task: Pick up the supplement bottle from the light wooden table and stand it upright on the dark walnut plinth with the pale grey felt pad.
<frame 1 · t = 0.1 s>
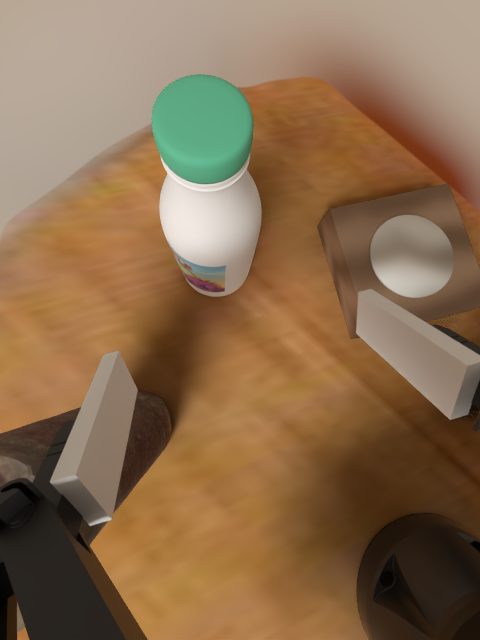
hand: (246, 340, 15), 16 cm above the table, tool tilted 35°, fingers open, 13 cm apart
walnut plinth: (388, 268, 33), on the table
brown cylinder: (139, 422, 29), on the table, touching gripper
milk bottle: (216, 266, 32), on the table
supplement bottle: (469, 389, 32), on the table
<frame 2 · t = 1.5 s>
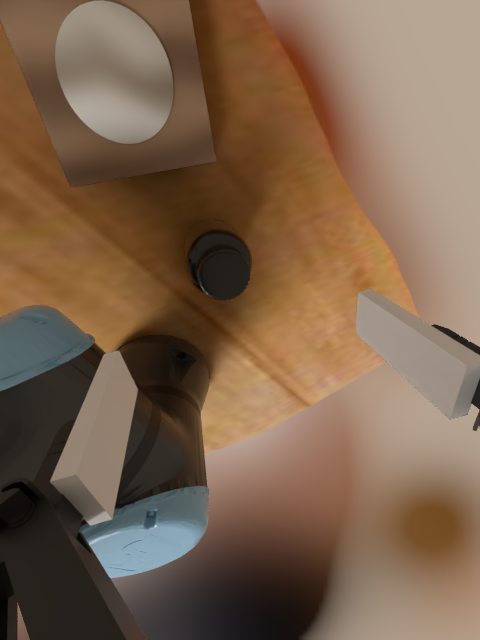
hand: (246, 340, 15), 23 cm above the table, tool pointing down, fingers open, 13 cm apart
walnut plinth: (126, 92, 26), on the table
supplement bottle: (211, 245, 35), on the table
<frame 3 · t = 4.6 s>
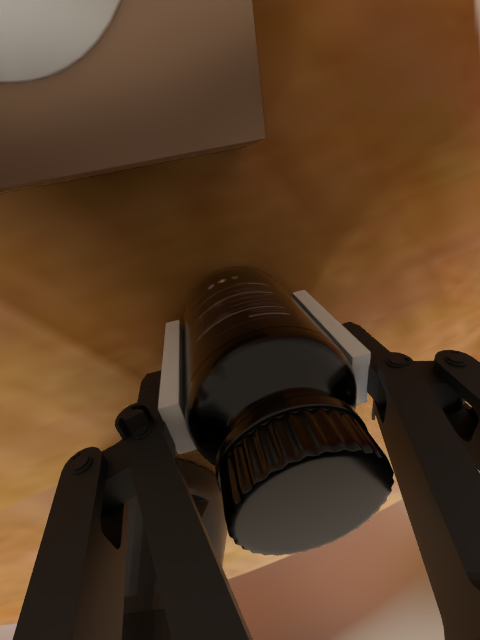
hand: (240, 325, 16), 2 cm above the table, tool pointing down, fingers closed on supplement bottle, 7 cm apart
supplement bottle: (235, 312, 18), on the table, touching gripper
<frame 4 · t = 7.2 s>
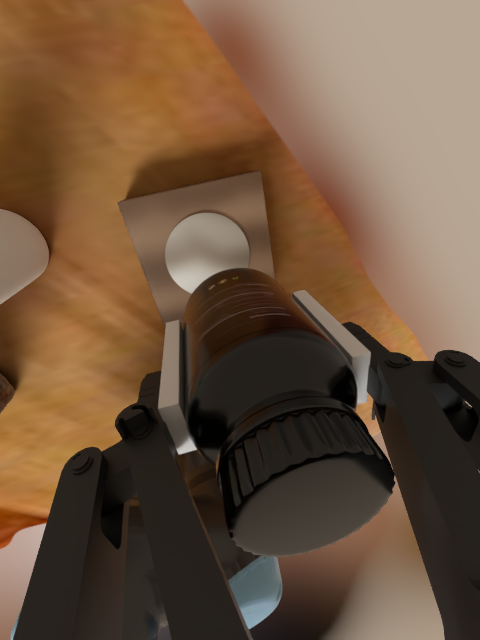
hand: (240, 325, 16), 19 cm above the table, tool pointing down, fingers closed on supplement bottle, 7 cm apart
walnut plinth: (205, 248, 33), on the table
milk bottle: (11, 246, 29), on the table
supplement bottle: (236, 313, 18), point 18 cm above the table, touching gripper
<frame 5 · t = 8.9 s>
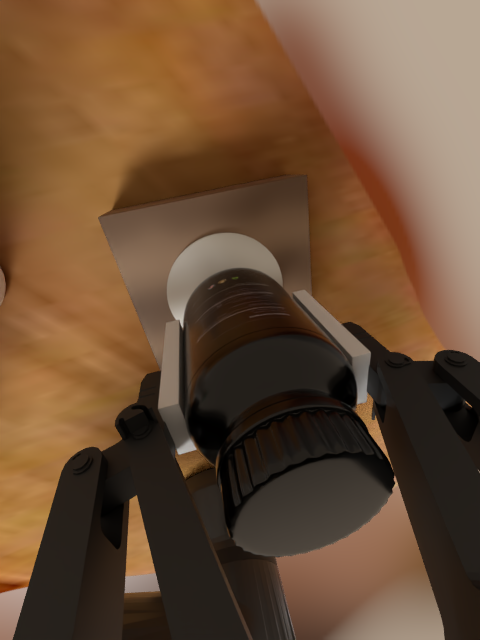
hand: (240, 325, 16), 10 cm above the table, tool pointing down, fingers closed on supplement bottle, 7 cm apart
walnut plinth: (219, 275, 25), on the table
supplement bottle: (235, 313, 18), point 8 cm above the table, touching gripper
when the fingers open (7 cm above the table, at t = 10.2 s): supplement bottle drops 1 cm, resting on walnut plinth.
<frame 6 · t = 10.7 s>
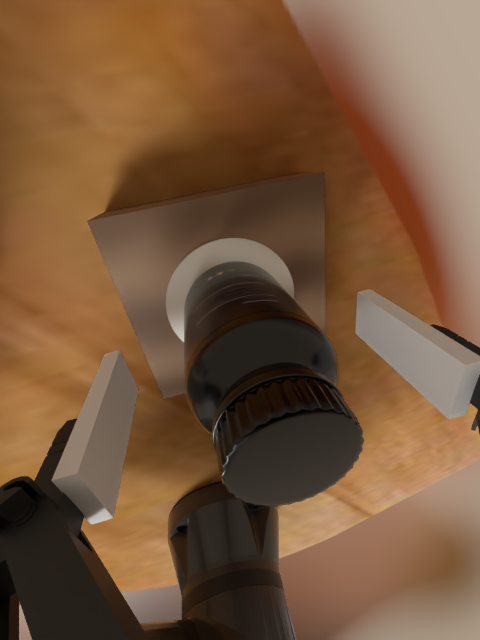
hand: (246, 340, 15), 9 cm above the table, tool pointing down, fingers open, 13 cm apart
walnut plinth: (224, 283, 23), on the table
supplement bottle: (233, 304, 19), point 4 cm above the table, touching walnut plinth
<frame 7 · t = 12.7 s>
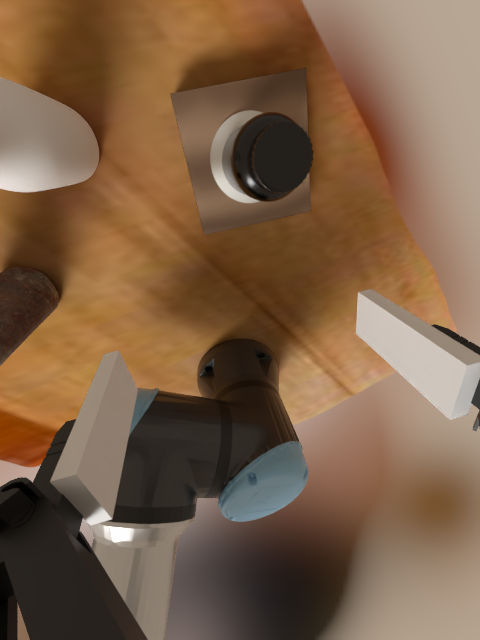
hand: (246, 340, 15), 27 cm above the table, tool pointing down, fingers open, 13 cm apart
walnut plinth: (243, 160, 34), on the table
brown cylinder: (32, 288, 38), on the table
milk bottle: (64, 145, 31), on the table
supplement bottle: (250, 160, 31), point 4 cm above the table, touching walnut plinth
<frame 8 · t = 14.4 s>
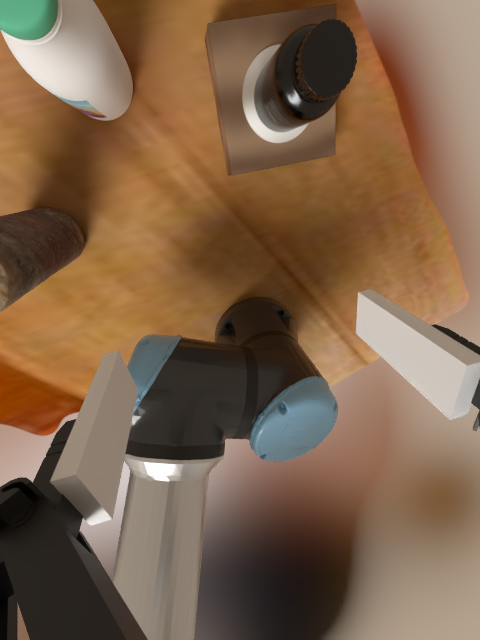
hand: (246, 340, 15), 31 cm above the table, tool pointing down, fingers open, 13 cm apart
walnut plinth: (270, 104, 35), on the table
brown cylinder: (57, 233, 38), on the table
milk bottle: (98, 81, 32), on the table
supplement bottle: (280, 98, 32), point 4 cm above the table, touching walnut plinth
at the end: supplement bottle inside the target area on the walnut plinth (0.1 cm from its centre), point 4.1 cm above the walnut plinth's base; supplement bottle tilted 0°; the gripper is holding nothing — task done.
